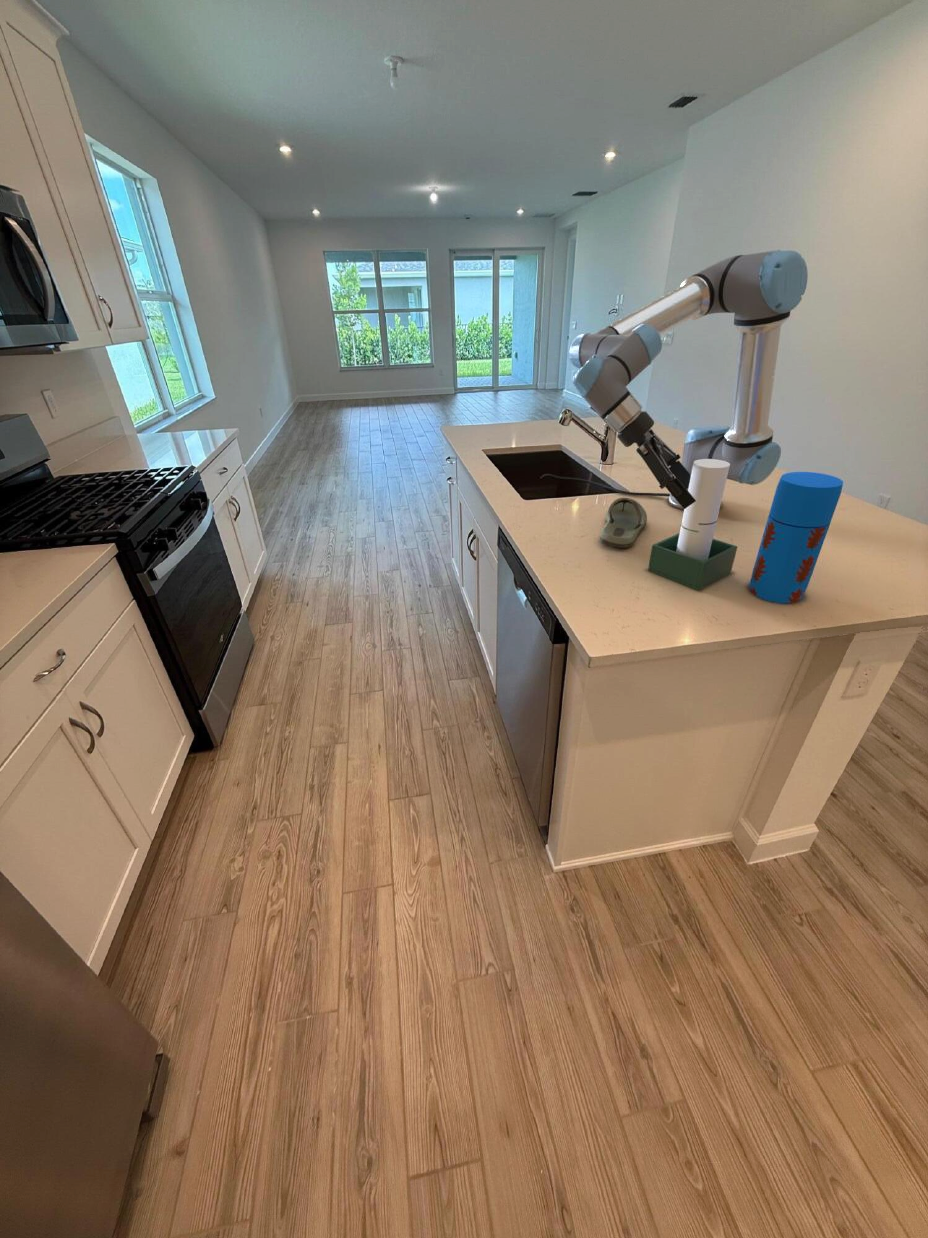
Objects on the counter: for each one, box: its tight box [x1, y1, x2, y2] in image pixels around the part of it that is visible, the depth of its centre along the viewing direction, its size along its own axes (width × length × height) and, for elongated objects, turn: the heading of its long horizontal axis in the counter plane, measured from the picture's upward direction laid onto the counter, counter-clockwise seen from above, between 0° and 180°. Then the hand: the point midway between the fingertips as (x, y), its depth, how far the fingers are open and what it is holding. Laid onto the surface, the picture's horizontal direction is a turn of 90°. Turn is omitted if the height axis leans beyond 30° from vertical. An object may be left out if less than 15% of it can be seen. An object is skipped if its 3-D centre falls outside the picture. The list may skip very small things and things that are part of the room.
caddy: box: [647, 532, 739, 591], centre depth 120 cm, size 13×13×7 cm
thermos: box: [748, 471, 844, 604], centre depth 105 cm, size 11×11×25 cm
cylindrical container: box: [676, 459, 730, 561], centre depth 114 cm, size 7×7×25 cm
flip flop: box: [598, 497, 648, 549], centre depth 142 cm, size 29×12×8 cm, turn 155°
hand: (690, 494), depth 113 cm, fingers open, 13 cm apart
